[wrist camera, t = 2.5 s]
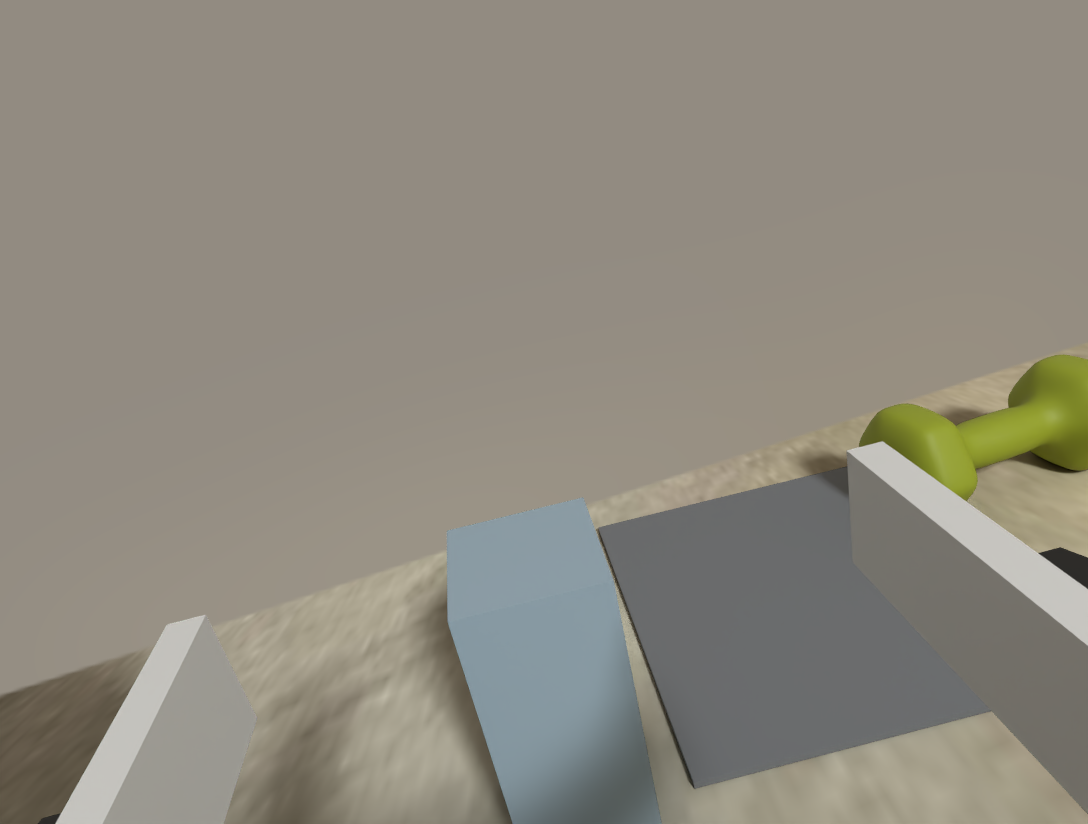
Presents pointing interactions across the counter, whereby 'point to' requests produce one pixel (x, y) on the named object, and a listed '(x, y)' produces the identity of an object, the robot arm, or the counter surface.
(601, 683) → the block
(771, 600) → the mat
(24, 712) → the counter surface
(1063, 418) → the dumbbell
